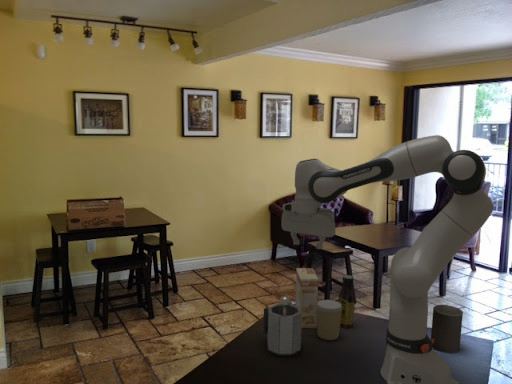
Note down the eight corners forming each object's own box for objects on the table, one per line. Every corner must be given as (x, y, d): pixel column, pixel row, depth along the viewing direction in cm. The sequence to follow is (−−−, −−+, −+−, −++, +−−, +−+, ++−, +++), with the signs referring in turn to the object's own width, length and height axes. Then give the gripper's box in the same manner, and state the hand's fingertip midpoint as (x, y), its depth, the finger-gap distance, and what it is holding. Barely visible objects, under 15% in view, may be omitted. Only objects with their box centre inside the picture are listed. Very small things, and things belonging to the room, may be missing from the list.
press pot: (306, 348, 155) (307, 310, 153) (286, 360, 147) (287, 319, 145) (275, 336, 165) (276, 299, 163) (254, 346, 156) (255, 308, 155)
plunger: (299, 336, 154) (300, 296, 153) (285, 343, 149) (286, 301, 147) (282, 329, 160) (283, 290, 158) (268, 336, 154) (269, 296, 152)
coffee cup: (339, 330, 170) (341, 300, 169) (342, 341, 161) (343, 309, 160) (315, 329, 171) (316, 298, 170) (315, 340, 162) (316, 308, 161)
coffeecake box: (317, 328, 172) (318, 279, 169) (298, 328, 172) (299, 279, 169) (311, 313, 187) (313, 267, 184) (294, 313, 187) (295, 267, 184)
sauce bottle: (334, 323, 177) (335, 274, 175) (348, 321, 179) (350, 273, 177) (342, 329, 171) (344, 279, 169) (356, 328, 173) (358, 278, 170)
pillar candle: (424, 343, 160) (427, 303, 158) (443, 338, 165) (446, 299, 163) (446, 356, 152) (450, 313, 150) (466, 350, 156) (469, 308, 154)
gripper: (339, 208, 148) (338, 249, 150) (289, 203, 161) (289, 240, 163) (329, 210, 143) (328, 253, 145) (278, 205, 157) (278, 244, 158)
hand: (307, 246), depth 154 cm, fingers open, 8 cm apart
